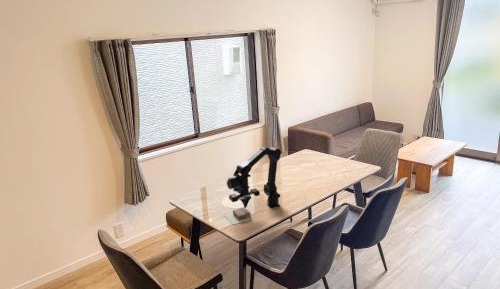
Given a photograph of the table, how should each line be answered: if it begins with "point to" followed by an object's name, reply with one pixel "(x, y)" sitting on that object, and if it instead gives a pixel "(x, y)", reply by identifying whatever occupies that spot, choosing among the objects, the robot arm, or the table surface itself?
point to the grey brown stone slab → (241, 213)
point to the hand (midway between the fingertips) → (245, 207)
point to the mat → (235, 219)
